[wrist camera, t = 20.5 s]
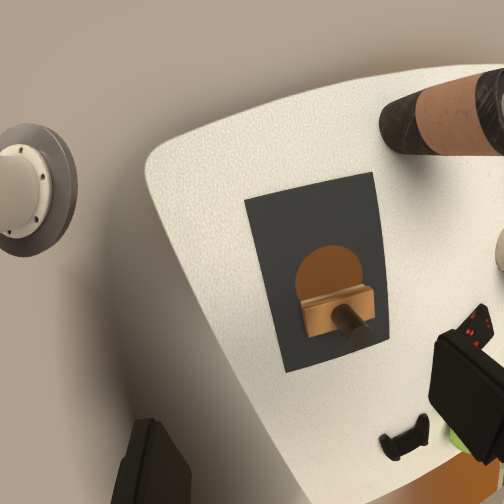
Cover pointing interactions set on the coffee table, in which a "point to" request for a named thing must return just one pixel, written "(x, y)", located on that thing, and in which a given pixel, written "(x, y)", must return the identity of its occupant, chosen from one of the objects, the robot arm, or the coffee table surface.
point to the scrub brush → (341, 314)
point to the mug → (500, 251)
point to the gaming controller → (406, 440)
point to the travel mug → (449, 118)
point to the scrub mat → (319, 259)
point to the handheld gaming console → (478, 327)
